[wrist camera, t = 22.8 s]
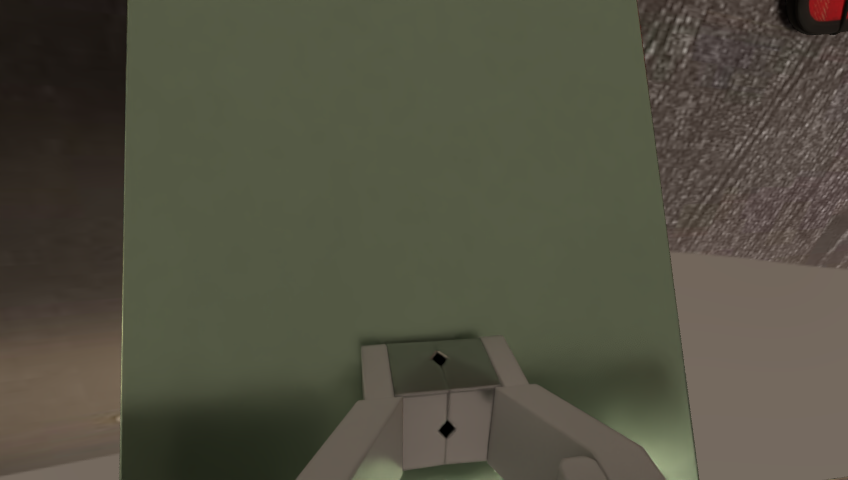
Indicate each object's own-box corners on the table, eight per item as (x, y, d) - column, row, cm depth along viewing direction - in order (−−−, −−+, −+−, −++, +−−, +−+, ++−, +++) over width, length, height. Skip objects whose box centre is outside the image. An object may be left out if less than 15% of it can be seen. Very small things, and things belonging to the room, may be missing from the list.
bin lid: (686, 540, 12) (710, 556, 11) (132, 627, 10) (114, 654, 9) (619, -2, 14) (635, -20, 13) (141, -21, 12) (126, -45, 11)
